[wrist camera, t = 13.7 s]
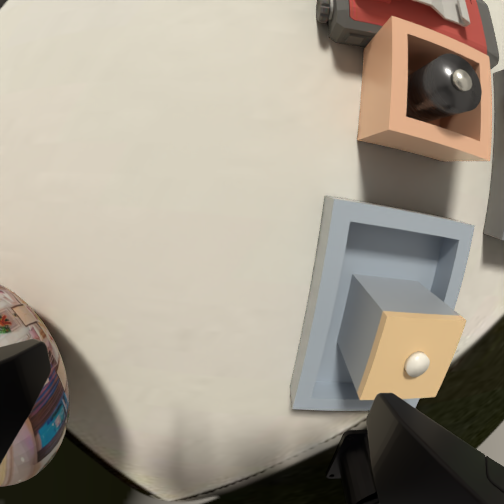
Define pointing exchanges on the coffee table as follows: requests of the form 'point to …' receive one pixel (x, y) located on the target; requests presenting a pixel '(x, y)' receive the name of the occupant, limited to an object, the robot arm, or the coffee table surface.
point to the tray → (372, 264)
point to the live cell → (397, 337)
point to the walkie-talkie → (411, 20)
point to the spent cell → (442, 89)
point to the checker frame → (497, 166)
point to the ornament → (48, 403)
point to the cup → (395, 96)
